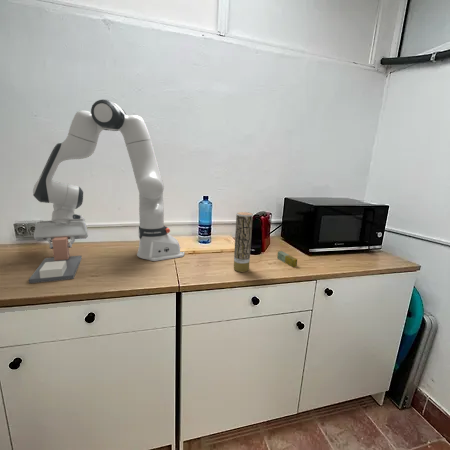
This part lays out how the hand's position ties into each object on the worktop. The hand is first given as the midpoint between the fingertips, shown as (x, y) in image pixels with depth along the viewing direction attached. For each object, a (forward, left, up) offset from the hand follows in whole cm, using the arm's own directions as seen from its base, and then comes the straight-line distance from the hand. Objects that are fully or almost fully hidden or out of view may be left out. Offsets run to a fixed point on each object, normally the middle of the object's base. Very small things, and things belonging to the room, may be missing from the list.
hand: (60, 247), depth 113 cm
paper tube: (-73, +26, -7) cm, 78 cm away
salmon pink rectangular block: (0, -1, -5) cm, 5 cm away
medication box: (-98, +24, -7) cm, 101 cm away
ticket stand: (0, +7, -7) cm, 10 cm away
